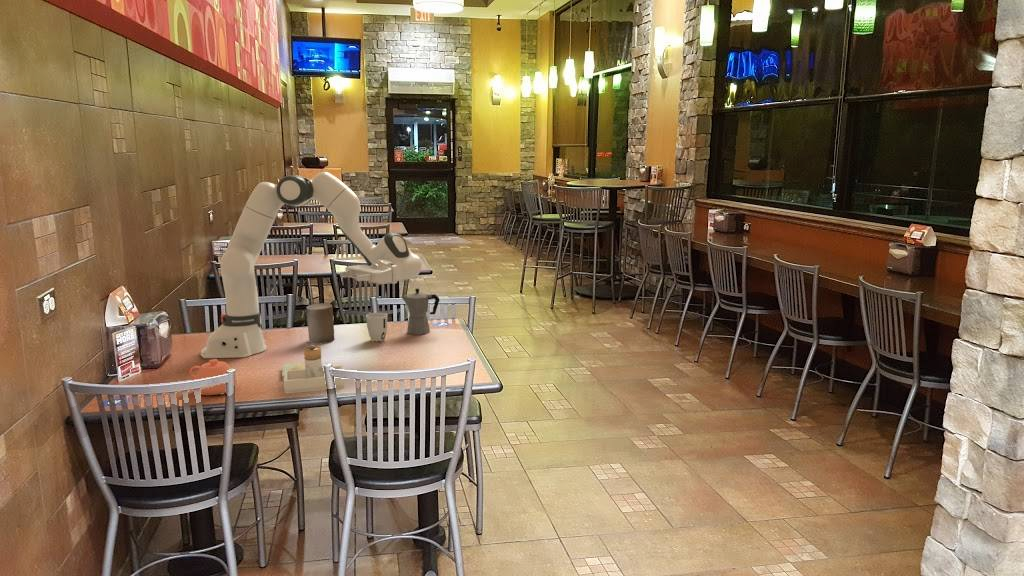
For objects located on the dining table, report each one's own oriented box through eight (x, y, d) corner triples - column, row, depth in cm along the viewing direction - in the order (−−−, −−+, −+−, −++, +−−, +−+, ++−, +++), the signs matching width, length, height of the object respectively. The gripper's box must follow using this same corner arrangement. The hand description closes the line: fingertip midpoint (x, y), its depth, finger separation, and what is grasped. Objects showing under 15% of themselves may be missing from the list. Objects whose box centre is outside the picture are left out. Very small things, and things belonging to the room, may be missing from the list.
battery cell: (306, 385, 216) (303, 348, 214) (306, 380, 221) (303, 344, 218) (323, 383, 218) (320, 347, 215) (322, 378, 222) (320, 342, 220)
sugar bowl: (230, 398, 209) (227, 365, 207) (182, 399, 208) (178, 366, 206) (242, 384, 221) (240, 353, 219) (197, 385, 220) (194, 354, 218)
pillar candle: (337, 337, 275) (335, 299, 272) (330, 343, 265) (328, 305, 262) (313, 337, 275) (310, 300, 272) (305, 344, 266) (302, 305, 263)
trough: (284, 393, 212) (283, 381, 211) (285, 382, 222) (285, 370, 221) (344, 388, 217) (343, 375, 216) (342, 377, 227) (341, 365, 226)
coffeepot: (400, 335, 277) (398, 290, 274) (404, 329, 287) (403, 286, 283) (438, 335, 277) (437, 291, 273) (441, 329, 286) (440, 286, 282)
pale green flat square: (282, 380, 224) (281, 375, 224) (283, 368, 236) (283, 364, 235) (320, 376, 228) (320, 372, 227) (320, 365, 239) (319, 361, 239)
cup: (386, 343, 266) (385, 317, 264) (365, 343, 266) (363, 317, 264) (390, 337, 274) (389, 312, 272) (369, 337, 274) (368, 312, 272)
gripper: (365, 259, 254) (331, 264, 245) (399, 266, 241) (365, 271, 231) (365, 276, 256) (332, 281, 246) (399, 283, 242) (366, 289, 232)
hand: (348, 276), depth 238 cm, fingers open, 8 cm apart
